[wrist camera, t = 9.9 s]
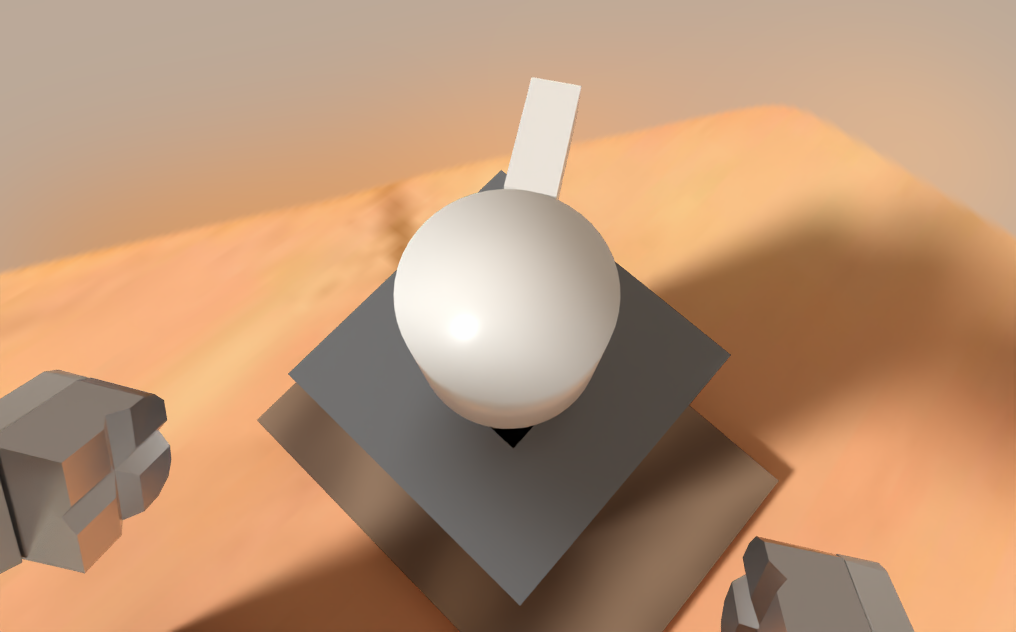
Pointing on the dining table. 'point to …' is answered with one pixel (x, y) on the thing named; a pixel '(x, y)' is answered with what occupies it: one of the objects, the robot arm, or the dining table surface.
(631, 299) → the grey upright block
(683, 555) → the base plate
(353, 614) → the dining table surface
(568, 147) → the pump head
